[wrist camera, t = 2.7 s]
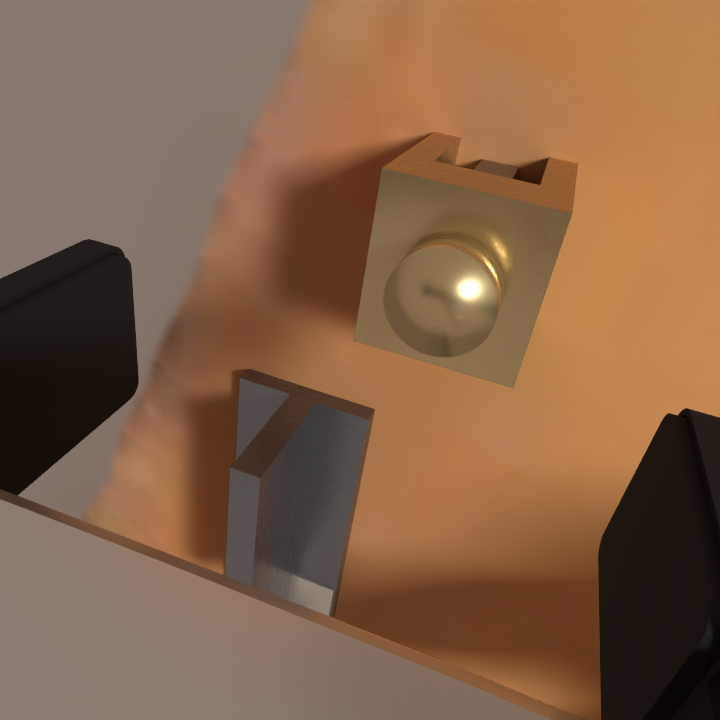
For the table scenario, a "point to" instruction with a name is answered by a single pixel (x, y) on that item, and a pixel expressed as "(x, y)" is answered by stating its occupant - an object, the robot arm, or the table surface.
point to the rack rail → (294, 489)
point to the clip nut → (461, 260)
